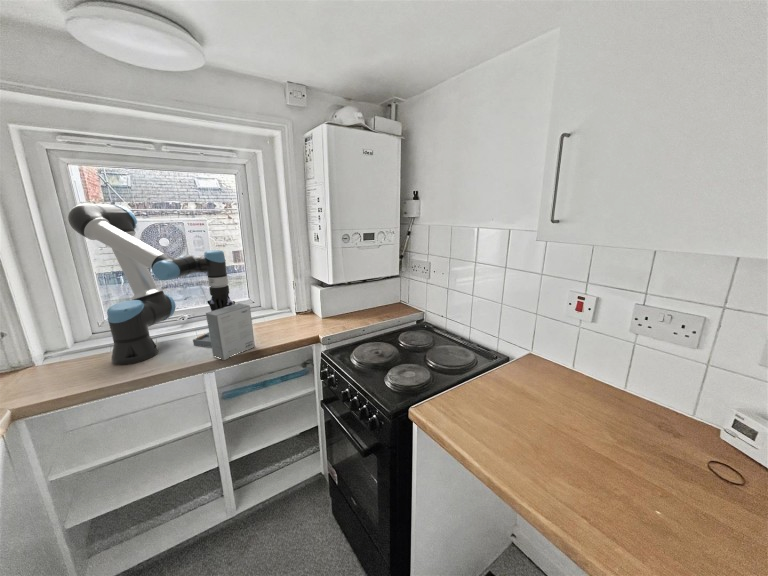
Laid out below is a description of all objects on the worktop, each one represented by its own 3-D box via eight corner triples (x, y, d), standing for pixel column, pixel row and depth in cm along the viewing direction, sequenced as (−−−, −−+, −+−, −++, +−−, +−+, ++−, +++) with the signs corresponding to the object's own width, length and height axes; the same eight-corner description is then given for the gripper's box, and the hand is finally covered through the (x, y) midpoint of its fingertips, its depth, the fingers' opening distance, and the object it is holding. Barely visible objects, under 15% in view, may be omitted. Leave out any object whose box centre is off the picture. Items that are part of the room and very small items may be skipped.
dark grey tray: (193, 345, 137) (192, 339, 137) (225, 329, 156) (224, 324, 156) (217, 347, 134) (216, 341, 134) (247, 331, 153) (246, 326, 153)
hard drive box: (245, 343, 139) (240, 302, 134) (255, 347, 135) (251, 305, 130) (212, 357, 126) (205, 312, 121) (222, 361, 122) (216, 315, 117)
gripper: (199, 286, 129) (207, 337, 135) (225, 288, 126) (231, 340, 132) (213, 283, 136) (220, 331, 142) (237, 284, 133) (243, 333, 139)
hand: (225, 335), depth 137 cm, fingers closed
